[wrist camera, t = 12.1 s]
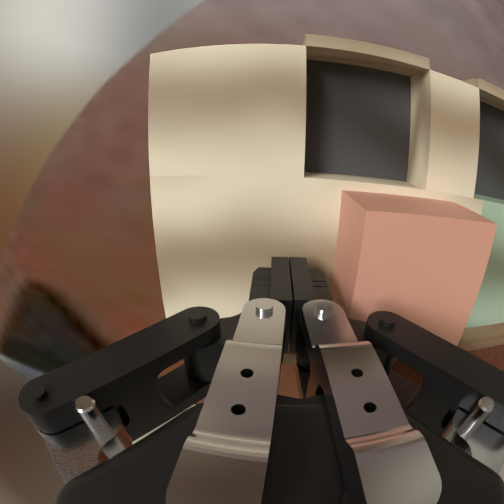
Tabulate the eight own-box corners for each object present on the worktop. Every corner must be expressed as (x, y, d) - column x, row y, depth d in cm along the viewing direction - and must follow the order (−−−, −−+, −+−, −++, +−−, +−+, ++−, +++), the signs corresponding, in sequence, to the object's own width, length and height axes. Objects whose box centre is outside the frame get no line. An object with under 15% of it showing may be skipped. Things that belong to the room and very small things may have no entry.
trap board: (497, 310, 16) (522, 339, 12) (180, 310, 17) (160, 352, 14) (533, 120, 10) (571, 125, 6) (169, 55, 12) (136, 32, 8)
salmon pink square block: (428, 308, 13) (455, 347, 10) (327, 310, 14) (338, 358, 11) (454, 202, 11) (497, 223, 8) (341, 190, 12) (366, 210, 8)
